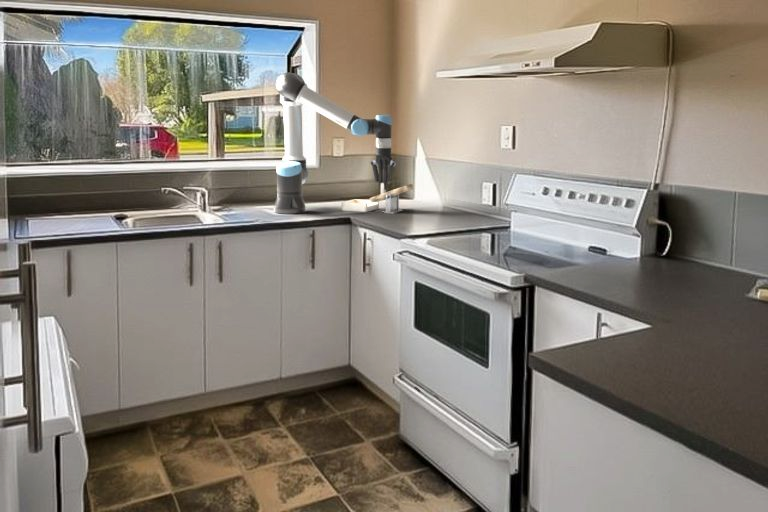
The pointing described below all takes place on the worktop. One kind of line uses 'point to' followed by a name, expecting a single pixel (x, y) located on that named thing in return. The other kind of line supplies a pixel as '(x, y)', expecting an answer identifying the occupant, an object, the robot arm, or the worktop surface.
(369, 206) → the dish
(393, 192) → the lever
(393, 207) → the stand
